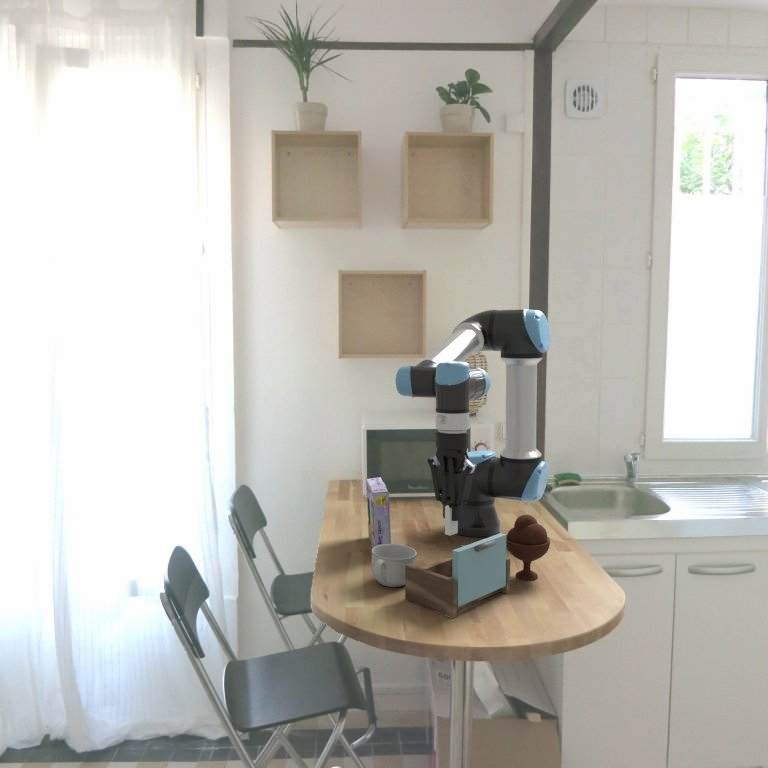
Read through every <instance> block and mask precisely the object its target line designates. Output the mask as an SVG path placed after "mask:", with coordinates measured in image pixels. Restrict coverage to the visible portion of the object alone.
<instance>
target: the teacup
mask: <svg viewBox="0 0 768 768" xmlns="http://www.w3.org/2000/svg"><path fill="white" fill-rule="evenodd" d="M417 555H418V552H417V551H416V549H415V548H413V547H410V546H407V545H406V544H400V543H391V544H382V545H377V546H375V547H373V548H371V574H372V576H373V578H374V579H375V580H376V581H377V582H378V583H379V584H380V585H382V586H386V587H389V588H399V587H403V586H405V565H407V564H411V565H414V566H417V563H416V562H417Z"/></svg>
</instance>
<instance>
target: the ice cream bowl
mask: <svg viewBox="0 0 768 768" xmlns="http://www.w3.org/2000/svg"><path fill="white" fill-rule="evenodd" d="M550 544H551V539H550V537H548V532H547V530H546V528H545V527H544V526H543V525H541V524H539V522H538V521H537V519H536V518H535V517H534V516H532V515H531V514H522V515H520V516H518V517H517V518H516V519H515V521H514V525H513V527H512V528H510V529H509V530H508V532H507V534H506V550H507V551H508V552H509V553H510V554H511V555H512V556H513V557H514V558H516V559H518V560H520V561H522V563H523V566H522V567H523V569H521V570H520V571H517V572H516V573H515V578H516V579H518V580H520V581H524V582H531V581H532V582H534V581H537V580H538V579H539V576H538V573H537V572H536V571H533V570H531V564H532V562H535V561H536V560H539V559H541V558H543V557H544V556H545V555H546V553H548V551H549V549H550Z"/></svg>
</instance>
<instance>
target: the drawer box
mask: <svg viewBox="0 0 768 768" xmlns="http://www.w3.org/2000/svg"><path fill="white" fill-rule="evenodd" d="M466 545H467V544H466ZM466 545H465V544H462V545H459V548H460V547H463V546H466ZM452 559H453V556H450V557H447V558H445V559H442V560H440V561H437V562H433V563H431V564H429V565H428V564H427V565H426V566H423V567H419V566H417V565H415V566H414V565H411V564H407V565H405V585H404V586H405V590H404V591H405V592H404V593H405V594H404V595H405V598H404V599H405V600H406V601H407V600H408V602H410V603H412V604H415V605H418V606H420V607H423V608H425V609H427V610H430V611H432V612H435V611H436V612H435V613H438V612H439V614H440V613H441V615H443V616H445V615H446V617H448V616H449V617H448V618H450V619H451V618H452V619H455V618H457V617H458V611H460V610H462V609H464V608H466V607H468V606H470V605H473V604H475V603H477V602H480V601H481V600H483V599H486V598H488V597H491V596H492V595H495V594H497V593H503V594H507V595H508V594H510V593H511V558H510V557H506V586H505V587H502V588H500V589H498V590H496V591H493V592H491V593H489V594H487V595H484V596H482V597H480V598H478V599H475V600H473V601H471V602H469V603H466V604H464V605H462V606H460V607H457V580H455V579H452Z"/></svg>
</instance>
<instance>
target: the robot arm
mask: <svg viewBox="0 0 768 768" xmlns="http://www.w3.org/2000/svg"><path fill="white" fill-rule="evenodd" d="M550 344H551V330H550V325H549V322H548V319H547V316H546V315H545V314H544V313H543V311H541V310H538V309H527V308H524V309H489V310H485V311H481V312H478V313H475V314H473V315H471V316H469V317H467V318H466V319H464V320H463V321H461V322H460V323H458V324H457V325H456V326H455V327H454V328H453V330H452V333H451V335H450V336H448V337H447V338H446V339H445V340H444V341H443V342H442V343H440V344H439V345H438V346H437V347H436V348H435V349H433V351H431V352H430V353H429V354H428V355H427V356H425V357H424V358H423V359H422V360H421V361H419V362H418V363H417V364H416V365H410V364H409V365H403V366H400V367H399V368H398V370H397V372H396V375H395V388H396V391H397V393H399V395H400V396H403V397H411V398H424V399H425V398H427V399H428V398H429V399H435V429H436V431H435V434H434V435H435V436H434V441H435V443H434V446H435V448H436V452H435V455H434V456H432V457H430V458H427V463H428V466H429V467H430V472H431V479H432V483H433V484H432V485H433V490H434V495H435V500H436V501H437V502H440V503H441V505H442V518H443V519H444V535H446V536H453V535H460V536H464V537H471V538H473V537H478V538H480V537H491V536H494V535H497V534H500V533H501V527H502V526H501V521H500V518H499V514H498V511H497V508H496V498H497V499H504V500H511V501H519V502H520V501H521V502H522V503H524V502H529V503H535V502H538V501H539V500H540V499H541V498H542V497H543V495H544V493H545V490H546V487H547V482H548V478H549V464H548V462H545V460H542V452H540V451H539V449H538V448H537V411H538V410H537V403H538V402H537V399H538V398H537V396H538V391H537V389H538V364H539V362H540V361H542V360H543V358H544V357H543V356H544V355H543V354H544V353H546V352H548V351H549V349H550V346H551V345H550ZM486 351H487V352H488V351H489V352H491V351H492V352H500V359H501V360H502V361H503V363H505V447H504V448H503V449H502V450H501V451H500V453H499V456H497V454H496V451H494V450H475V451H473V450H472V451H469V452H468V449H469V447H470V433H469V431H467V430H469V429H470V401H472V400H479V399H481V398H482V397H484V396H485V395H486V394H487V393H488V392H489V391H490V388H491V378H490V376H489V373H488V372H486V370H485V369H483V368H480V367H476V366H470V364H469V362H467V361H466V360H467V359H468V358H469V357H471V356H475V355H478V354H479V352H486Z"/></svg>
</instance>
